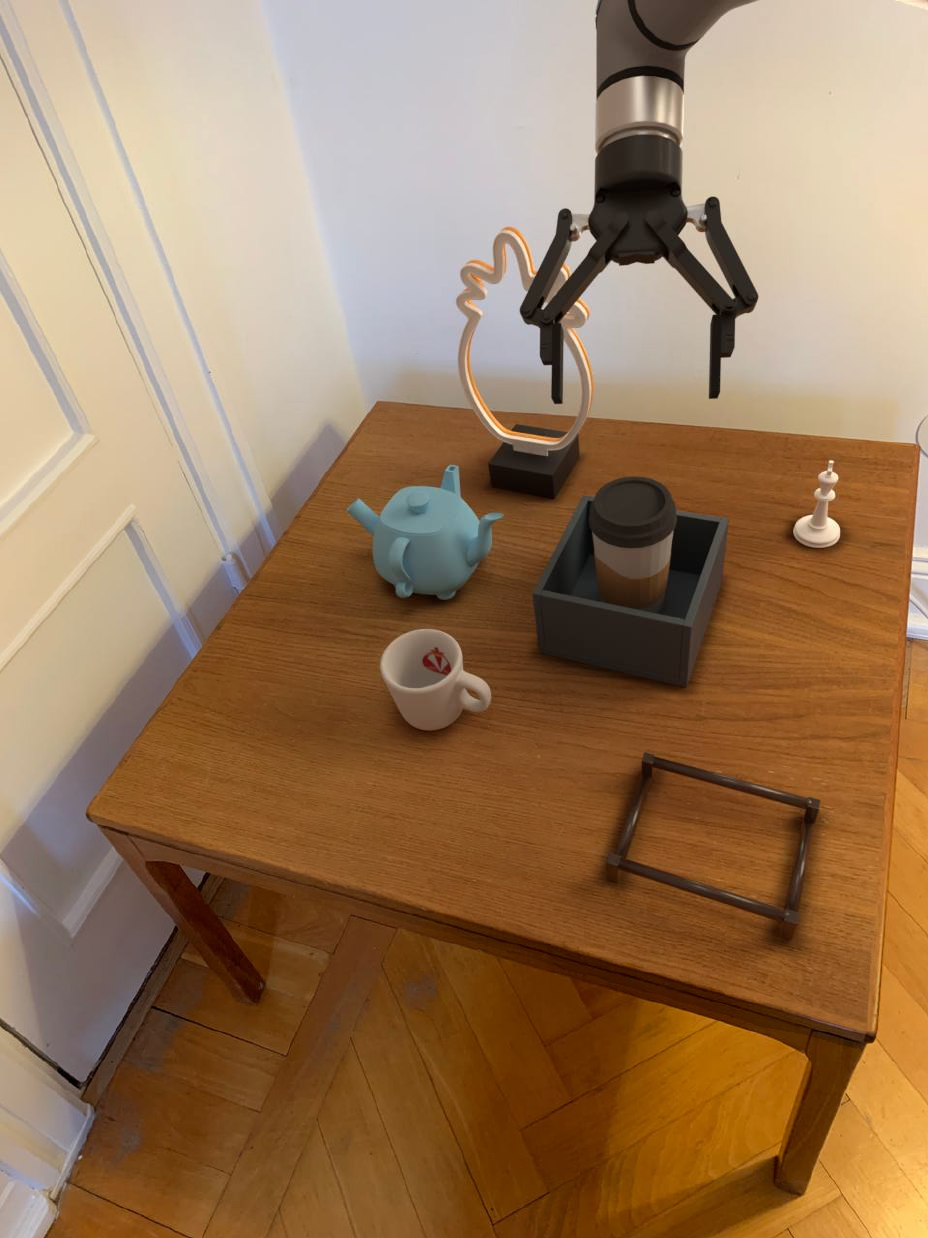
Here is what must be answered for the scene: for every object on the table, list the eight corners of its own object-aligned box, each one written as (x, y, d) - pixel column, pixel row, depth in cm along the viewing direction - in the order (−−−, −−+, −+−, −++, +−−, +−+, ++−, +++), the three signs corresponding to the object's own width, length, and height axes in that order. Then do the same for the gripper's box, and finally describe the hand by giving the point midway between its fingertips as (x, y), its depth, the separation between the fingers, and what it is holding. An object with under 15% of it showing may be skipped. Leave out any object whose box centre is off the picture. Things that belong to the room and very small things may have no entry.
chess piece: (841, 522, 98) (858, 450, 90) (837, 551, 95) (855, 478, 87) (795, 516, 99) (809, 445, 92) (790, 544, 96) (803, 473, 89)
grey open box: (722, 580, 94) (729, 518, 87) (686, 688, 85) (691, 627, 78) (585, 555, 100) (582, 494, 93) (538, 652, 91) (532, 593, 84)
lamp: (608, 462, 111) (603, 212, 88) (584, 505, 106) (571, 251, 83) (491, 442, 117) (458, 205, 94) (463, 481, 112) (420, 241, 89)
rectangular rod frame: (815, 818, 74) (821, 799, 71) (791, 940, 67) (797, 924, 65) (644, 770, 79) (644, 751, 77) (606, 879, 73) (605, 862, 70)
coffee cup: (689, 611, 90) (697, 501, 79) (629, 651, 88) (628, 542, 77) (635, 570, 95) (635, 461, 85) (576, 607, 93) (569, 499, 82)
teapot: (478, 517, 107) (465, 442, 99) (514, 588, 98) (503, 512, 89) (360, 554, 106) (337, 481, 97) (386, 629, 96) (363, 556, 88)
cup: (510, 695, 87) (501, 644, 82) (479, 758, 83) (468, 708, 77) (416, 670, 91) (402, 620, 86) (382, 729, 87) (364, 679, 81)
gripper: (782, 159, 76) (776, 402, 77) (504, 184, 81) (501, 411, 82) (797, 113, 68) (790, 382, 69) (489, 144, 74) (487, 394, 74)
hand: (634, 398), depth 76 cm, fingers open, 13 cm apart
